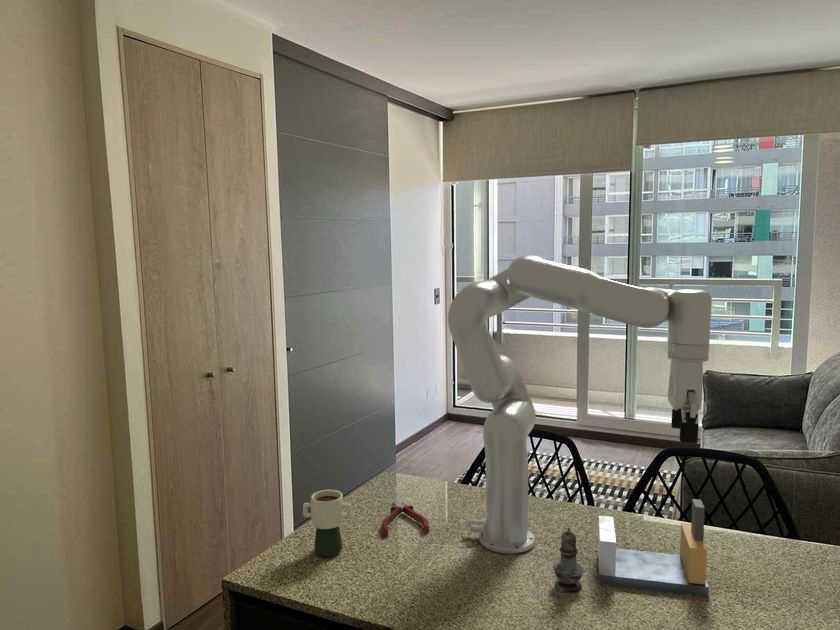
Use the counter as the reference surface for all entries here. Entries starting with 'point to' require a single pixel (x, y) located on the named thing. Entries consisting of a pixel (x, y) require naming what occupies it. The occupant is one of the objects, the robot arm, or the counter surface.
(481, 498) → the counter surface
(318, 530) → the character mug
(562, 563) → the dark grey chess piece
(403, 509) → the pliers
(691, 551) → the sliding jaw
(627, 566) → the vise
